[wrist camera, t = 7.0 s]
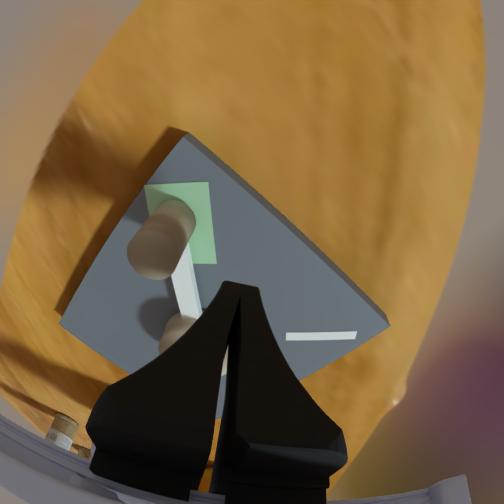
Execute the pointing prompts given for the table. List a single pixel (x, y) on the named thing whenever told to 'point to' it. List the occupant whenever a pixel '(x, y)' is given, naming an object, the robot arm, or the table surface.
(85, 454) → the pastry
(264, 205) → the dial board
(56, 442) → the spice jar
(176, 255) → the crank handle
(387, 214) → the table surface
